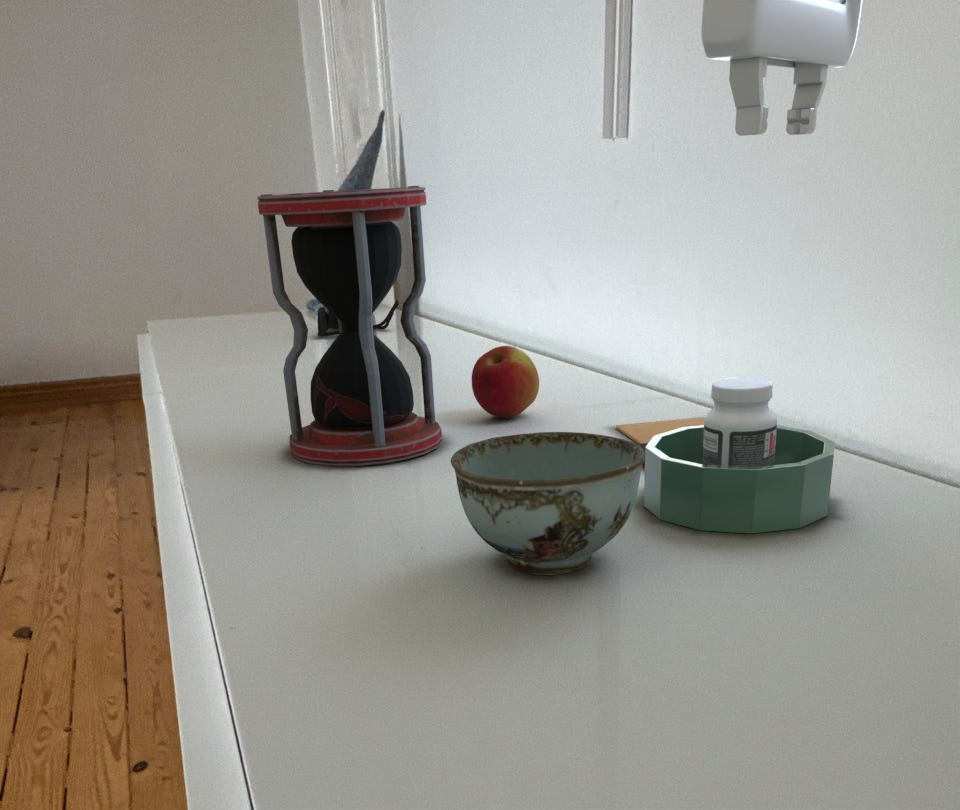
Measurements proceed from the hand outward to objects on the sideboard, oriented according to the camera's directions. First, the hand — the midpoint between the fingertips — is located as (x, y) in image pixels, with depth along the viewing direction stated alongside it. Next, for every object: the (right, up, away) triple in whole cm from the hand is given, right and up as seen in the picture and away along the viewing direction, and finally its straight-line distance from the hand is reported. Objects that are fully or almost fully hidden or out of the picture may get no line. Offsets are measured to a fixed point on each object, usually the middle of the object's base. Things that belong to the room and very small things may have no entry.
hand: (776, 135), depth 74 cm
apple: (-19, -12, +42) cm, 48 cm away
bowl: (-17, -32, -1) cm, 36 cm away
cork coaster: (-1, -16, +31) cm, 35 cm away
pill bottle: (-1, -26, +9) cm, 28 cm away
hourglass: (-34, -17, +32) cm, 50 cm away
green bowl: (-1, -26, +9) cm, 28 cm away
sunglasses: (-44, +20, +113) cm, 123 cm away
